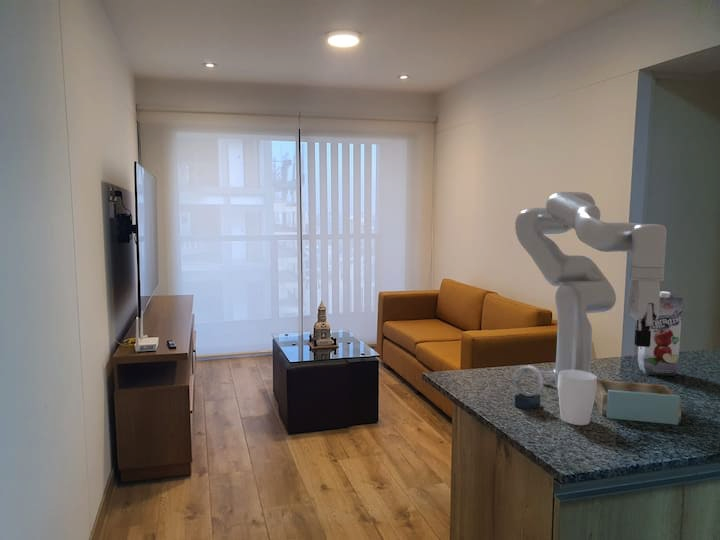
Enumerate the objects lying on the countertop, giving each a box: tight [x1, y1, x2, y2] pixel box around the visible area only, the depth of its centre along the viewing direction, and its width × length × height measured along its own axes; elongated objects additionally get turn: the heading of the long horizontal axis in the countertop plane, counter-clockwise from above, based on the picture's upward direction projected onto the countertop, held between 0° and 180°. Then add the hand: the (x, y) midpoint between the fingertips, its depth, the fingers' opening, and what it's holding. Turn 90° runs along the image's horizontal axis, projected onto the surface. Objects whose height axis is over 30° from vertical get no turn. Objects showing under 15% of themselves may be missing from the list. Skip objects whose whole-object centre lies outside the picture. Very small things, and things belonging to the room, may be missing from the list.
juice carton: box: [637, 290, 683, 377], centre depth 172 cm, size 9×10×27 cm
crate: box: [594, 379, 683, 424], centre depth 139 cm, size 18×12×6 cm
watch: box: [512, 364, 545, 412], centre depth 142 cm, size 6×8×11 cm
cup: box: [557, 370, 598, 426], centre depth 132 cm, size 9×9×12 cm
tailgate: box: [605, 390, 681, 426], centre depth 132 cm, size 16×1×7 cm, turn 76°
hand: (642, 345), depth 134 cm, fingers closed
